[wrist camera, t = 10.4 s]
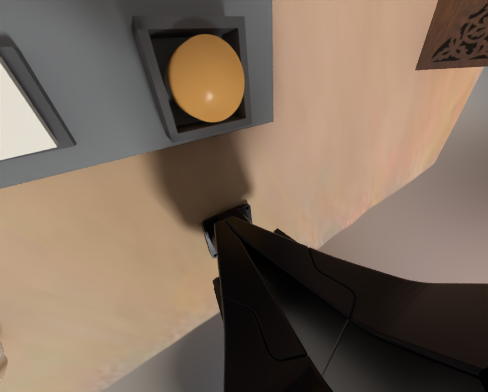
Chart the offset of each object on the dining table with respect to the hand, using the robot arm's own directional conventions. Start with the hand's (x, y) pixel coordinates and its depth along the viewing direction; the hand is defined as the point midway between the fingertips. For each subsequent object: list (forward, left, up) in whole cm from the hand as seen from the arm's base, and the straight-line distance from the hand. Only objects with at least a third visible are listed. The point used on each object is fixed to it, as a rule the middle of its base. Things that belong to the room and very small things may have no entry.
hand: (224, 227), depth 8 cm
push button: (+5, -3, -9) cm, 11 cm away
